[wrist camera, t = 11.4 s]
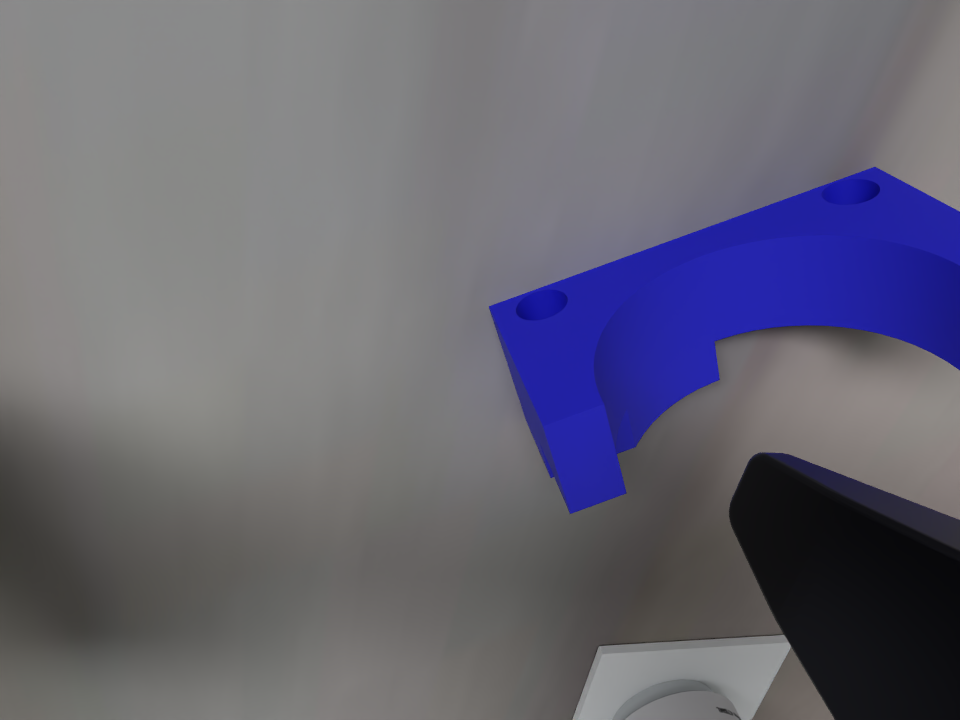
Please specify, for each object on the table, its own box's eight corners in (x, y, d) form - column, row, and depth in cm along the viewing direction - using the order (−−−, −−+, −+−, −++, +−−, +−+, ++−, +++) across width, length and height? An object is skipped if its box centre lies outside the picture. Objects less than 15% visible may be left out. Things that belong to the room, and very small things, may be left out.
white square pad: (551, 775, 37) (554, 783, 37) (598, 645, 33) (602, 654, 32) (723, 757, 39) (726, 765, 39) (789, 634, 35) (793, 642, 35)
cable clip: (525, 417, 26) (582, 552, 21) (487, 303, 23) (542, 426, 18) (871, 291, 26) (1009, 395, 21) (871, 164, 23) (1029, 249, 18)
